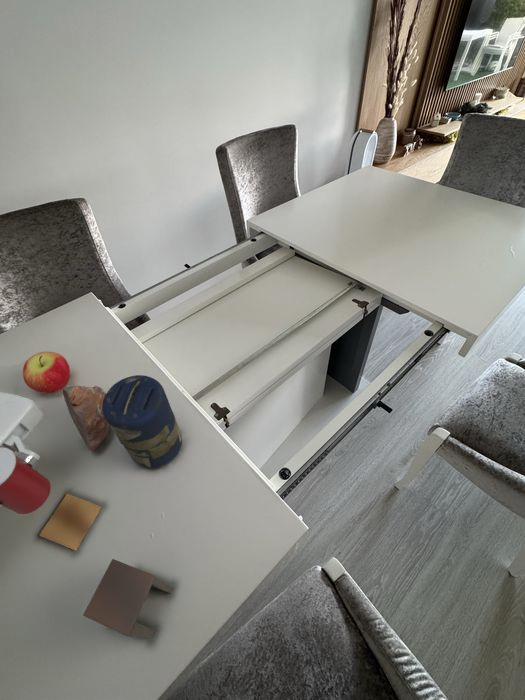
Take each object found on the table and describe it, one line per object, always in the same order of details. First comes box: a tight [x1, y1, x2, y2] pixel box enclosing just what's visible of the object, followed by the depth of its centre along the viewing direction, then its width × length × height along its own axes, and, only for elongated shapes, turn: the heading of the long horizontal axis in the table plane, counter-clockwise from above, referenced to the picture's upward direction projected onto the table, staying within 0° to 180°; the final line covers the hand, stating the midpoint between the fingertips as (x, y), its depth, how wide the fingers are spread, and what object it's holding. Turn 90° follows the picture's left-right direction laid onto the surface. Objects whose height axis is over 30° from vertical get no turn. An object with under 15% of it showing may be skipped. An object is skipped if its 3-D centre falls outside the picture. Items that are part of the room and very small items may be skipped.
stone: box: [62, 385, 110, 452], centre depth 65 cm, size 13×8×10 cm
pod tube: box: [0, 447, 52, 515], centre depth 43 cm, size 5×5×9 cm
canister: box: [102, 374, 183, 469], centre depth 58 cm, size 10×10×18 cm
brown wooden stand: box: [82, 558, 173, 639], centre depth 45 cm, size 6×6×11 cm
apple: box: [22, 350, 71, 394], centre depth 71 cm, size 8×8×10 cm
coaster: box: [38, 493, 103, 552], centre depth 57 cm, size 7×7×1 cm
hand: (16, 483), depth 43 cm, fingers closed on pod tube, 5 cm apart
